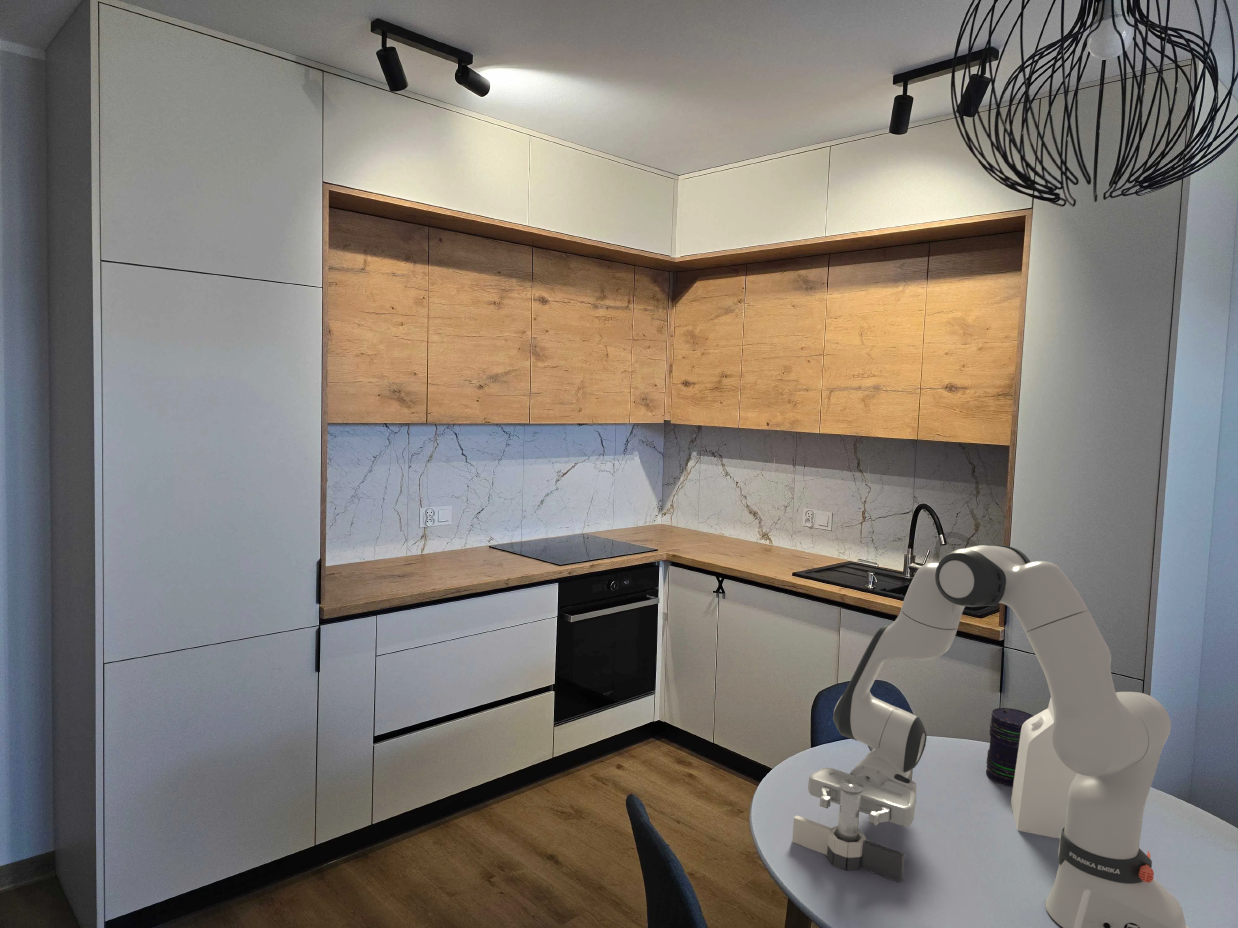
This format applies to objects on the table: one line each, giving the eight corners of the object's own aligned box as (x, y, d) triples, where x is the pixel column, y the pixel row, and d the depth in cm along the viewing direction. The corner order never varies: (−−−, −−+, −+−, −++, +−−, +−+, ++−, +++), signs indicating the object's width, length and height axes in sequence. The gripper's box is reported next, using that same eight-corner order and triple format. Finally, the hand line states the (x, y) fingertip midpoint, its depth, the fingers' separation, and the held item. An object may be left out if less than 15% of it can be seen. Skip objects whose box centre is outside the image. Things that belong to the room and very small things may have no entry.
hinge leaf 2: (906, 872, 156) (908, 847, 155) (895, 889, 151) (898, 863, 150) (835, 846, 164) (837, 822, 163) (822, 861, 159) (824, 836, 158)
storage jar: (1041, 784, 194) (1048, 722, 192) (1009, 790, 190) (1015, 727, 188) (1007, 765, 203) (1013, 705, 201) (975, 770, 199) (981, 709, 198)
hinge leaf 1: (867, 858, 160) (869, 833, 160) (856, 874, 155) (858, 848, 154) (799, 833, 168) (801, 809, 167) (786, 847, 163) (788, 822, 162)
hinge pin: (860, 859, 160) (867, 783, 158) (852, 869, 156) (858, 792, 155) (838, 850, 162) (844, 776, 161) (830, 860, 159) (835, 785, 157)
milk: (1079, 842, 169) (1093, 718, 167) (1017, 830, 173) (1029, 708, 170) (1069, 814, 181) (1081, 697, 178) (1010, 803, 184) (1022, 688, 182)
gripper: (823, 753, 174) (796, 778, 163) (924, 784, 163) (903, 813, 151) (821, 783, 175) (794, 809, 164) (921, 815, 163) (900, 846, 152)
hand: (847, 811), depth 158 cm, fingers open, 8 cm apart
